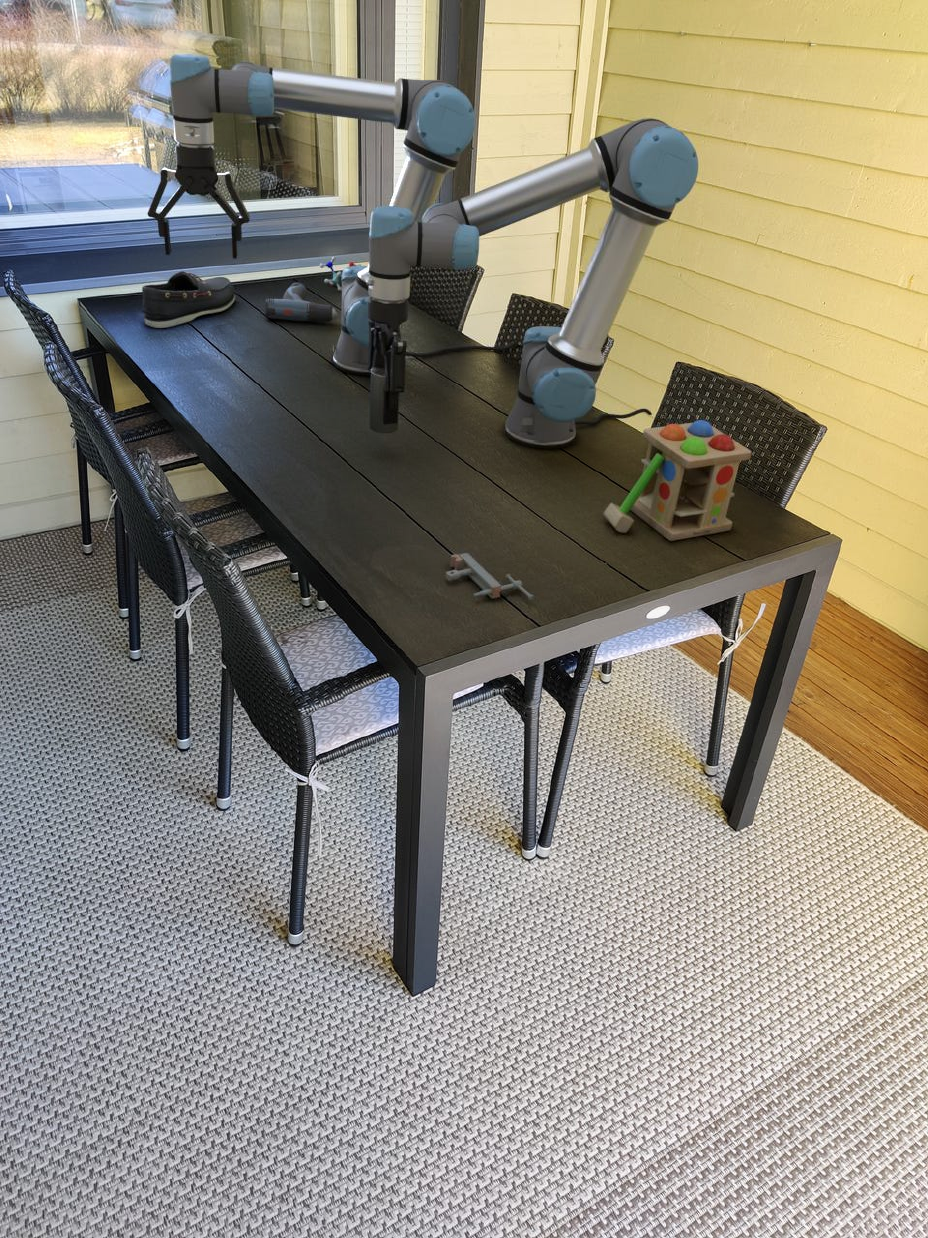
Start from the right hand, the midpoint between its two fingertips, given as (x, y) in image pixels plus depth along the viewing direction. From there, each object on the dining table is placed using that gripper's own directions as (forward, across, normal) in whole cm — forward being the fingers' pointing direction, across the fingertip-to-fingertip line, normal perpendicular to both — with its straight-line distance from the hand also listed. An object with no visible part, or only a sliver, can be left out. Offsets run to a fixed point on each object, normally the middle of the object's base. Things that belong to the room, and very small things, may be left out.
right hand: (384, 416), depth 193 cm
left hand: (-20, -46, -24) cm, 55 cm away
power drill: (+8, -89, +12) cm, 91 cm away
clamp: (+8, +51, -2) cm, 52 cm away
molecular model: (+8, -111, +29) cm, 115 cm away
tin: (+2, 0, 0) cm, 2 cm away
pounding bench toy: (+8, +41, +40) cm, 57 cm away
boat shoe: (+8, -95, -17) cm, 97 cm away
